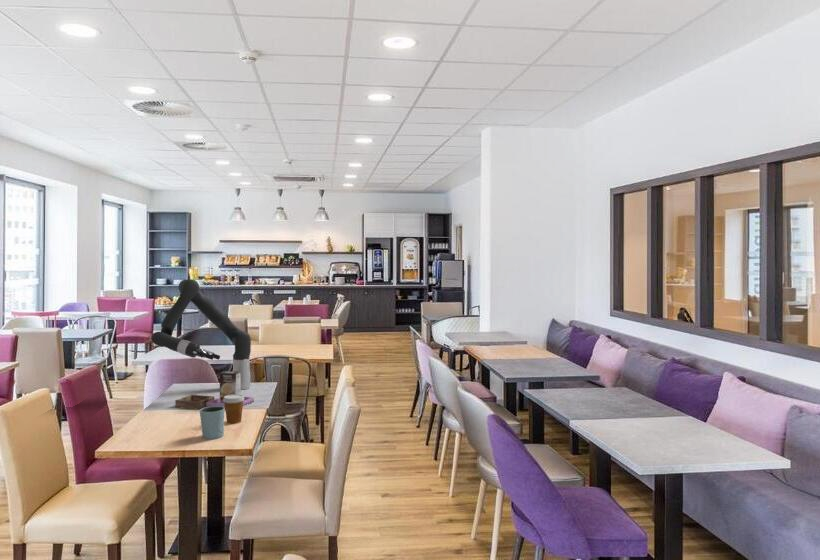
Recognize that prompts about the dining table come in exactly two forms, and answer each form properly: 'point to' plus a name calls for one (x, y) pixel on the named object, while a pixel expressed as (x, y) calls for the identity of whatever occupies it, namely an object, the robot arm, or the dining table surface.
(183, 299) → the robot arm
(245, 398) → the tray
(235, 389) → the coffee box
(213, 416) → the teal cup
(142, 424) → the dining table surface
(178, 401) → the holder
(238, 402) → the disposable coffee cup
